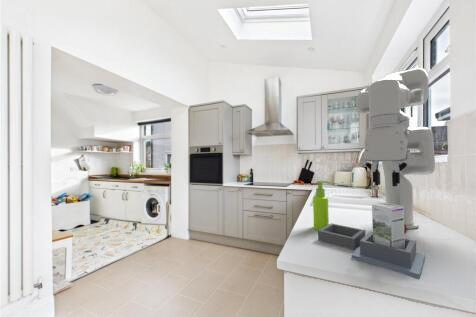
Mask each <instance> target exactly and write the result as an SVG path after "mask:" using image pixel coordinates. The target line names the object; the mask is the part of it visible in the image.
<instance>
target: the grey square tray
mask: <svg viewBox="0 0 476 317" xmlns="http://www.w3.org/2000/svg"><path fill="white" fill-rule="evenodd" d="M365 236H366V229H361V228H357V227H351V226H345V225H341V224H337V223H329V225H327V226H325V227H324V228H322V229H320V230H317V241H320V242H323V241H324V242H323V243H326V242H327V244H331V245H335V246H339V247H341V248H345V249H349V250H352V251H356V250H357V249H358V248H359V247H360V240H361V239H362V238H364V237H365Z"/></svg>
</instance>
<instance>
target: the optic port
mask: <svg viewBox="0 0 476 317" xmlns="http://www.w3.org/2000/svg"><path fill="white" fill-rule="evenodd" d="M350 256H351V257H350V258H351V259H353V260H357V261H360V262H362V263H365V264H369V265H373V266H376V267H380V268H384V269H387V270H390V271H393V272H395V273H400V274H403V275H405V276H409V277H414V278H415V279H416V278H417V279H421V275H422V272H423V267H424V263H425V259H426V254H425V253H421V252H417V240H415V239H410V238H405V250H403V249H399V248H394V247H390V246H386V245H381V244H377V243H373V231H369V232H368V233H367V234H365V237H364V238H362V239H361V240H360V246H359V247H358V248H356V249H355V250H354V252H352V253H351V255H350Z"/></svg>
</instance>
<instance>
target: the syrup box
mask: <svg viewBox="0 0 476 317" xmlns="http://www.w3.org/2000/svg"><path fill="white" fill-rule="evenodd" d="M371 214H372V215H371V218H372V219H371V220H372V232H373V243H377V244H381V245H386V246H390V247H394V248H399V249H403V250H405V237H406V236H405V235H406V234H405V235H404V207H403V206H400V205H394V204H388V203H386V202H376V203H372V204H371Z"/></svg>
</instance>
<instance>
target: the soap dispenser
mask: <svg viewBox="0 0 476 317" xmlns="http://www.w3.org/2000/svg"><path fill="white" fill-rule="evenodd" d="M316 183H317V188H315V193H316V194H315V196H313V197H312V201H313V202H312V204H313V207H312V208H313V229H315V230H316V231H318V230H320V229H322V228H324V227H325V226H327V225H329V224H330V223H329V221H330V220H329V198H328V197H327V196H325V195H326V194H325V191H326V190H325V188H324V187H323V184H329V185H330V184H331V181H326V180H317V181H316Z"/></svg>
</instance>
